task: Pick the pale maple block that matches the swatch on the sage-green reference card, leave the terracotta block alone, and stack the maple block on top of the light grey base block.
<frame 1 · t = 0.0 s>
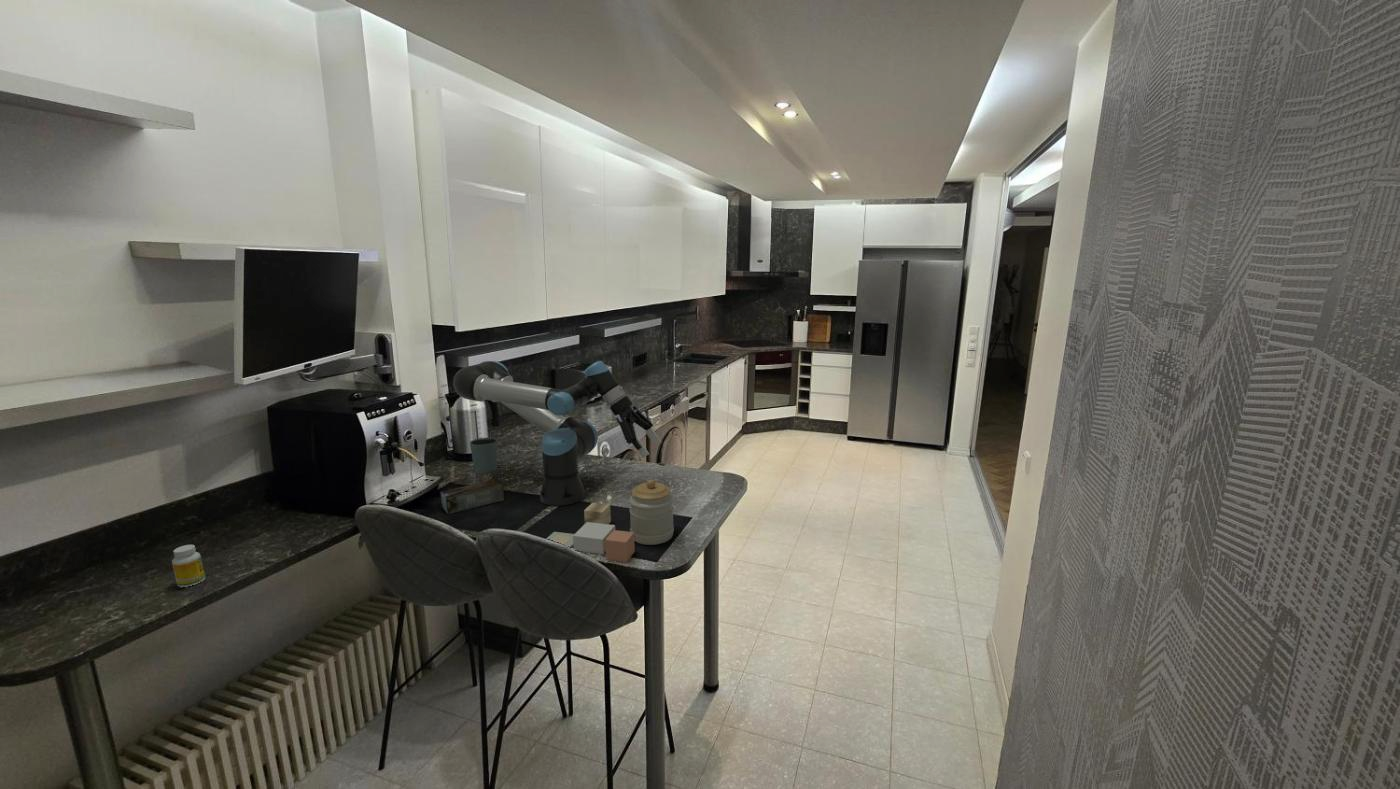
hand: (652, 449, 196), 15 cm above the countertop, tool tilted 35°, fingers open, 13 cm apart
terracotta block: (620, 555, 154), on the countertop
grey base block: (595, 544, 160), on the countertop
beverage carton: (474, 504, 189), on the countertop
reference card: (560, 542, 161), on the countertop
supplement bottle: (192, 583, 141), on the countertop
maple block: (598, 525, 172), on the countertop
jar: (652, 536, 166), on the countertop
teal cup: (486, 470, 221), on the countertop
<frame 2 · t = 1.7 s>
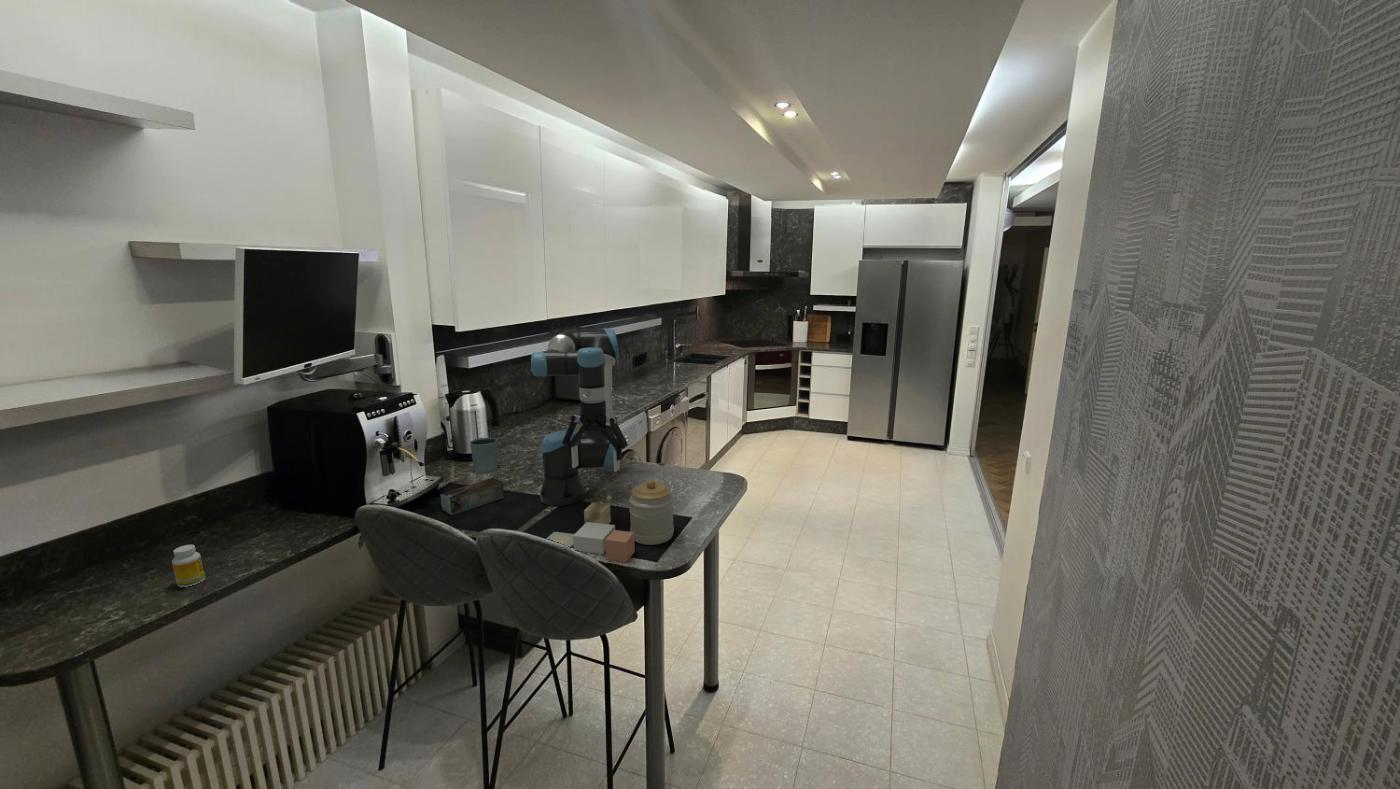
hand: (596, 468, 168), 19 cm above the countertop, tool pointing down, fingers open, 13 cm apart
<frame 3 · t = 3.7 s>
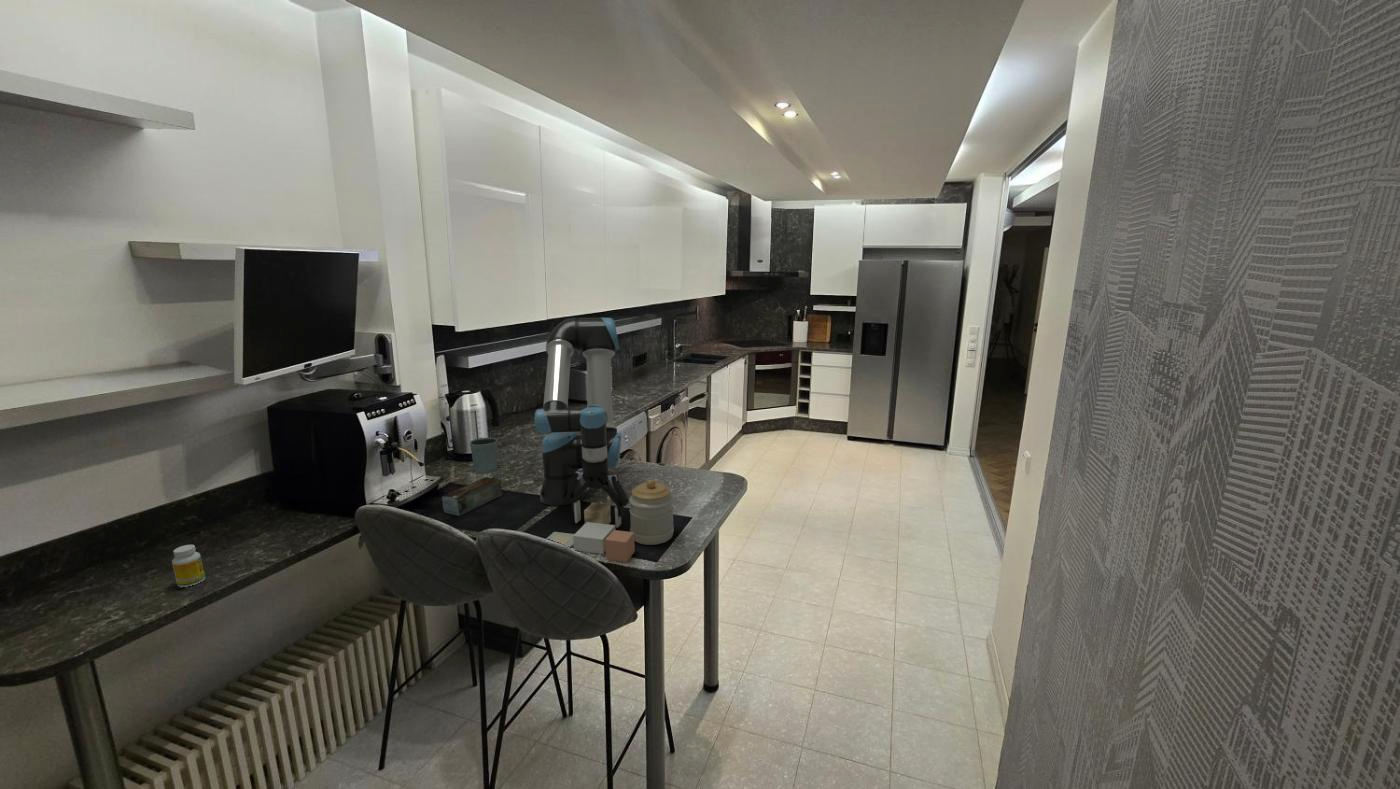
hand: (598, 523, 172), 1 cm above the countertop, tool pointing down, fingers open, 13 cm apart
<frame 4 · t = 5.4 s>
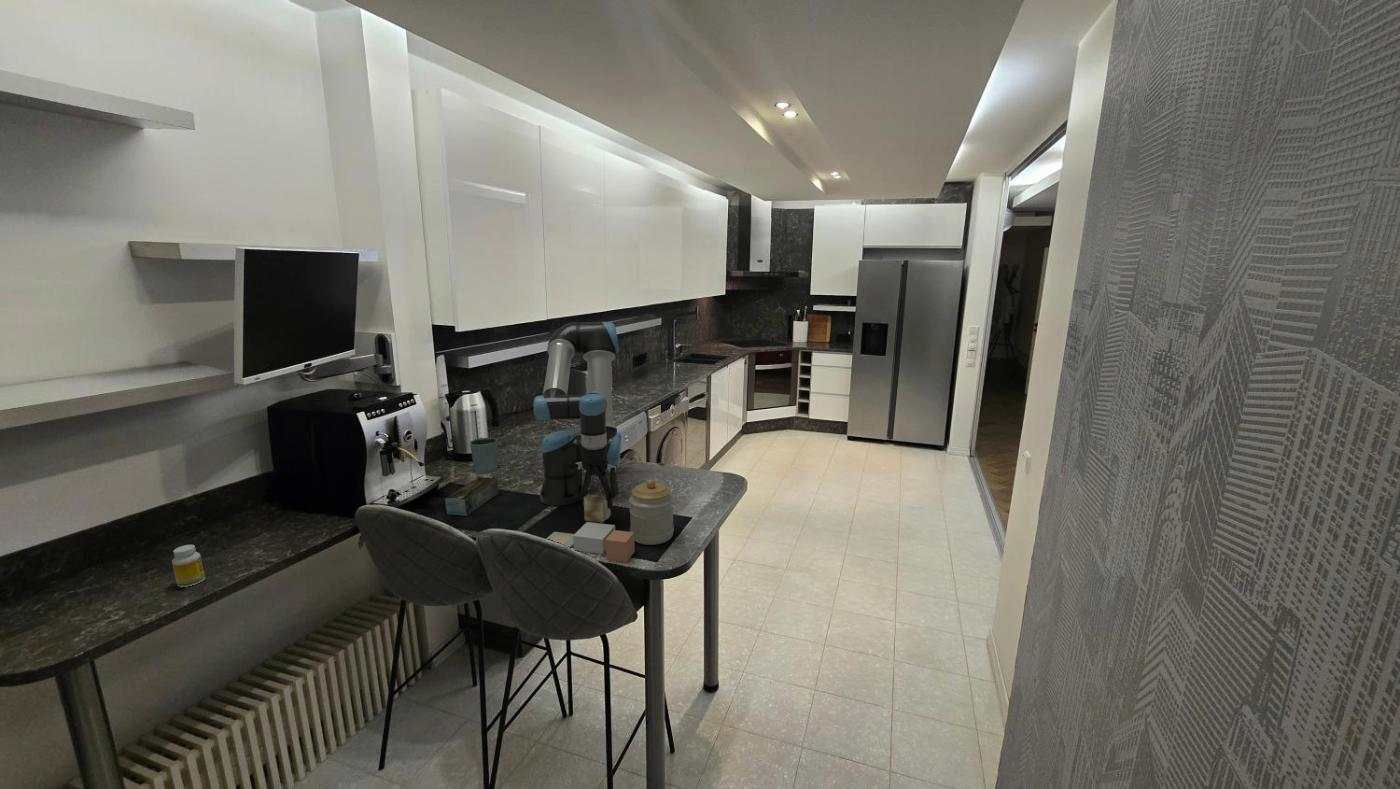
hand: (597, 515, 172), 3 cm above the countertop, tool pointing down, fingers closed on maple block, 6 cm apart
maple block: (597, 517, 172), point 2 cm above the countertop, touching gripper
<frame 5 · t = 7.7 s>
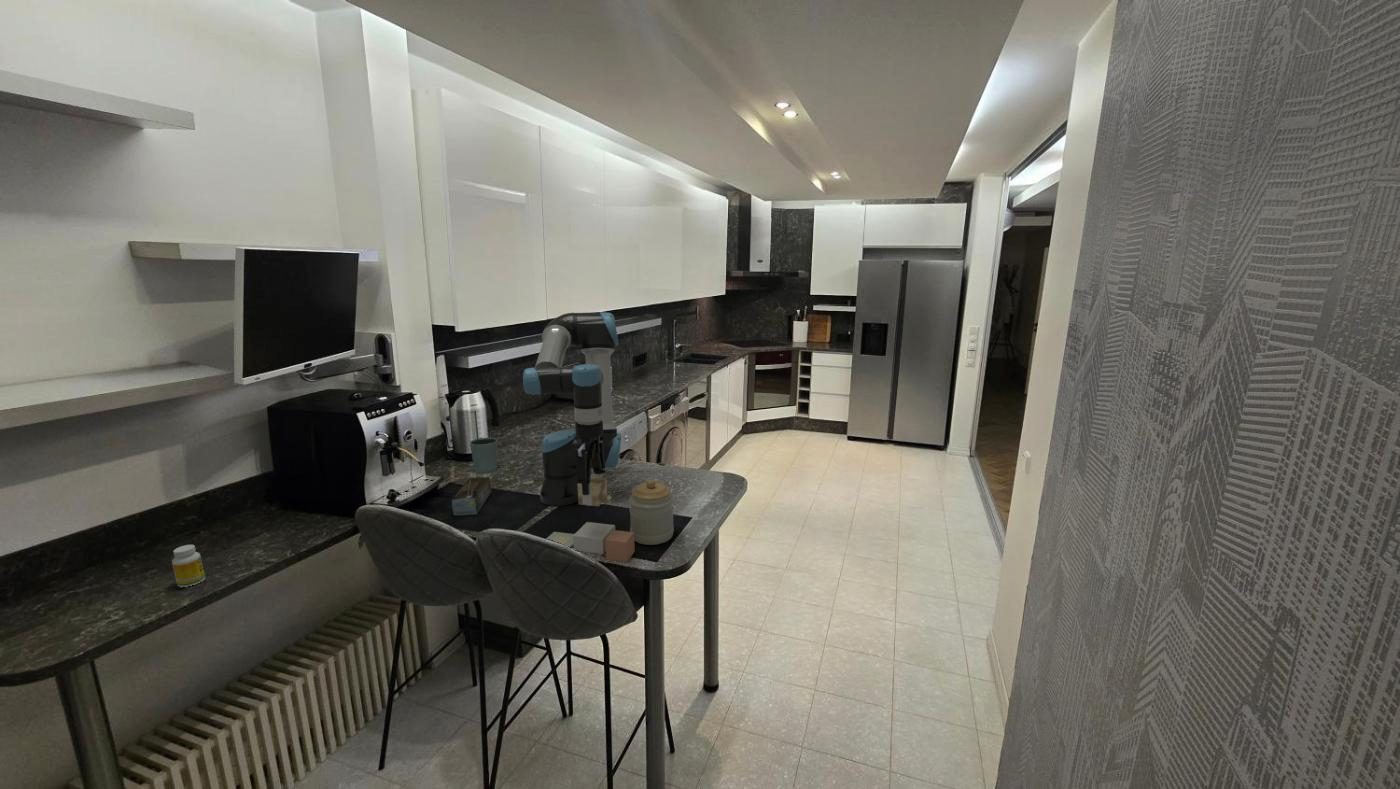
hand: (592, 499, 157), 14 cm above the countertop, tool pointing down, fingers closed on maple block, 6 cm apart
maple block: (593, 501, 157), point 14 cm above the countertop, touching gripper
when the fingers open (5 cm above the countertop, at t = 9.9 s): maple block stays where it is, resting on grey base block.
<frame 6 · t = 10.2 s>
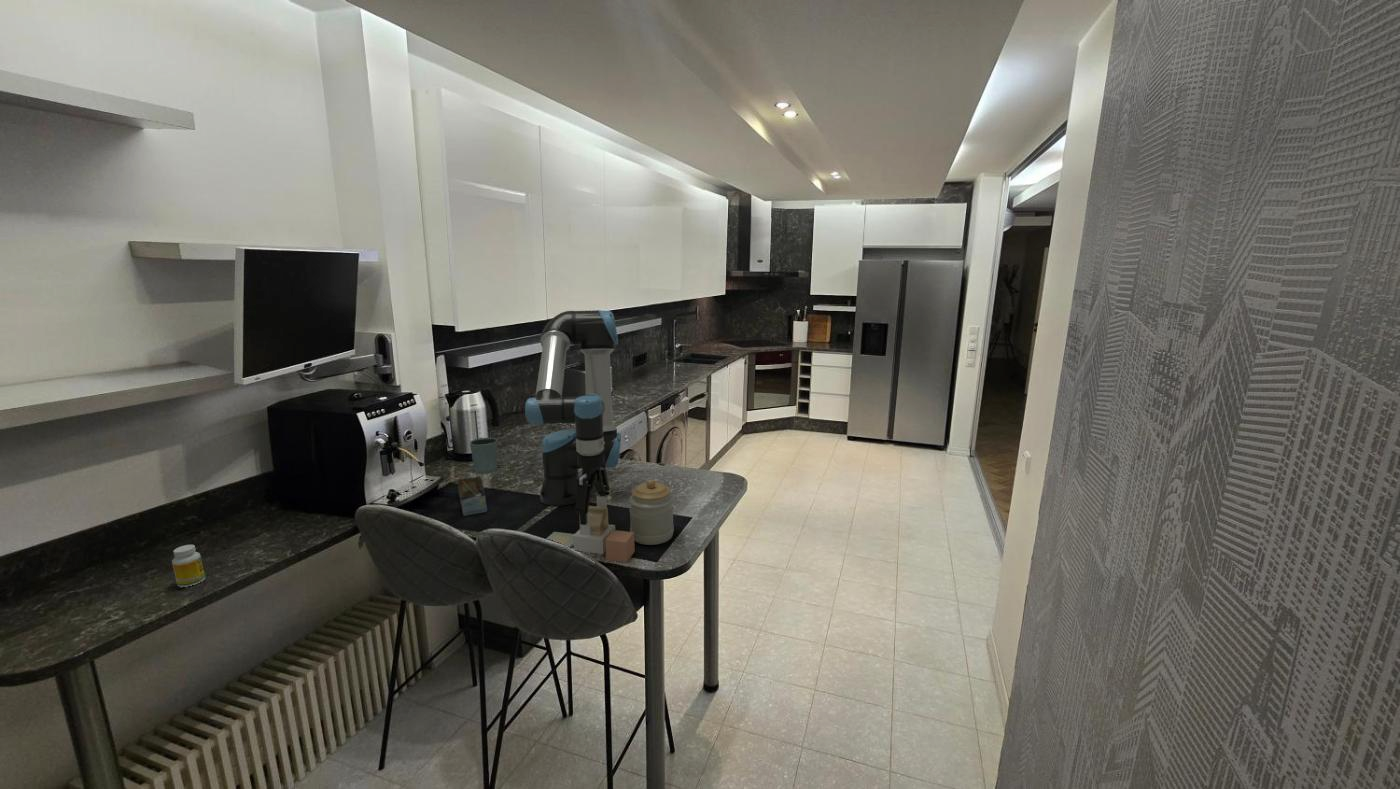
hand: (594, 525, 159), 6 cm above the countertop, tool pointing down, fingers open, 10 cm apart
maple block: (594, 530, 159), point 4 cm above the countertop, touching grey base block
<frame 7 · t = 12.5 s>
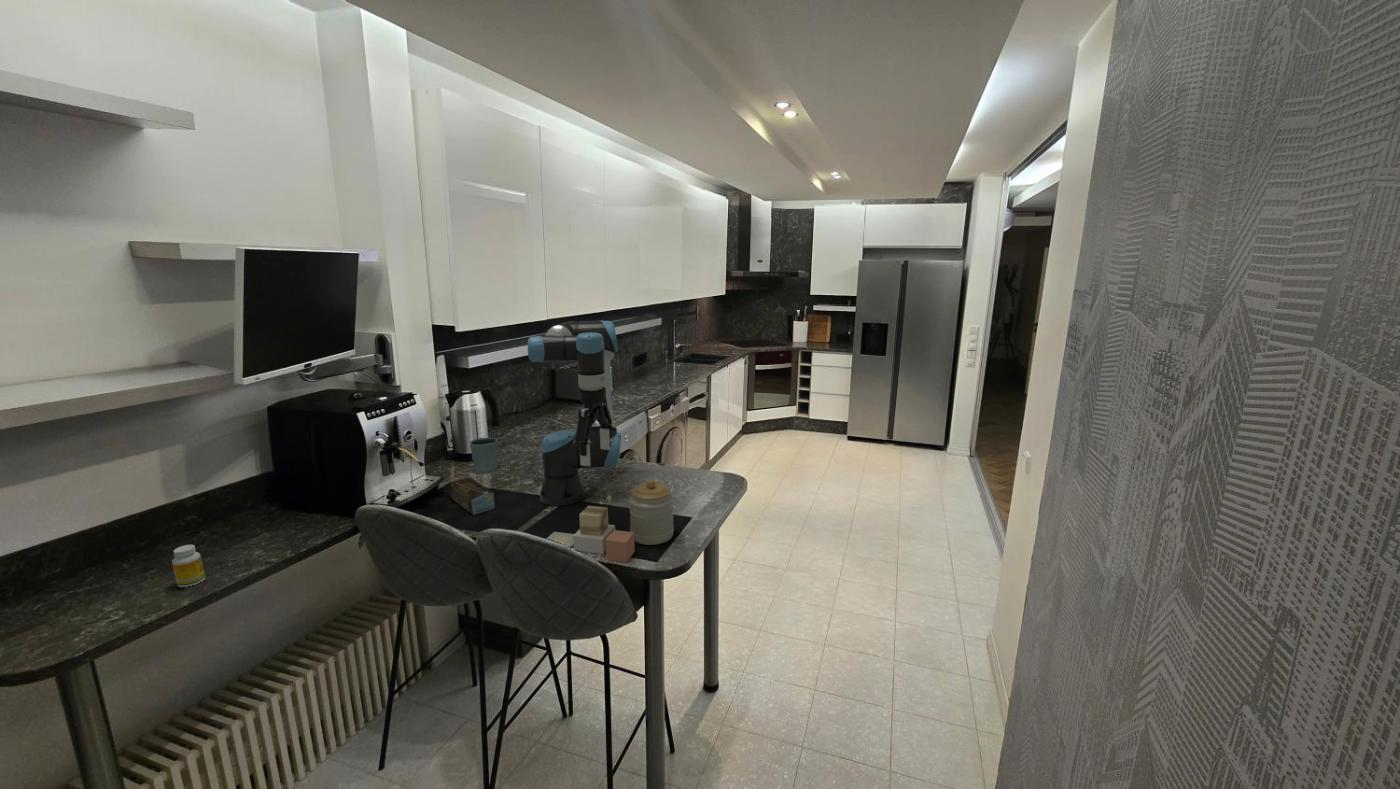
hand: (595, 457, 164), 24 cm above the countertop, tool pointing down, fingers open, 13 cm apart
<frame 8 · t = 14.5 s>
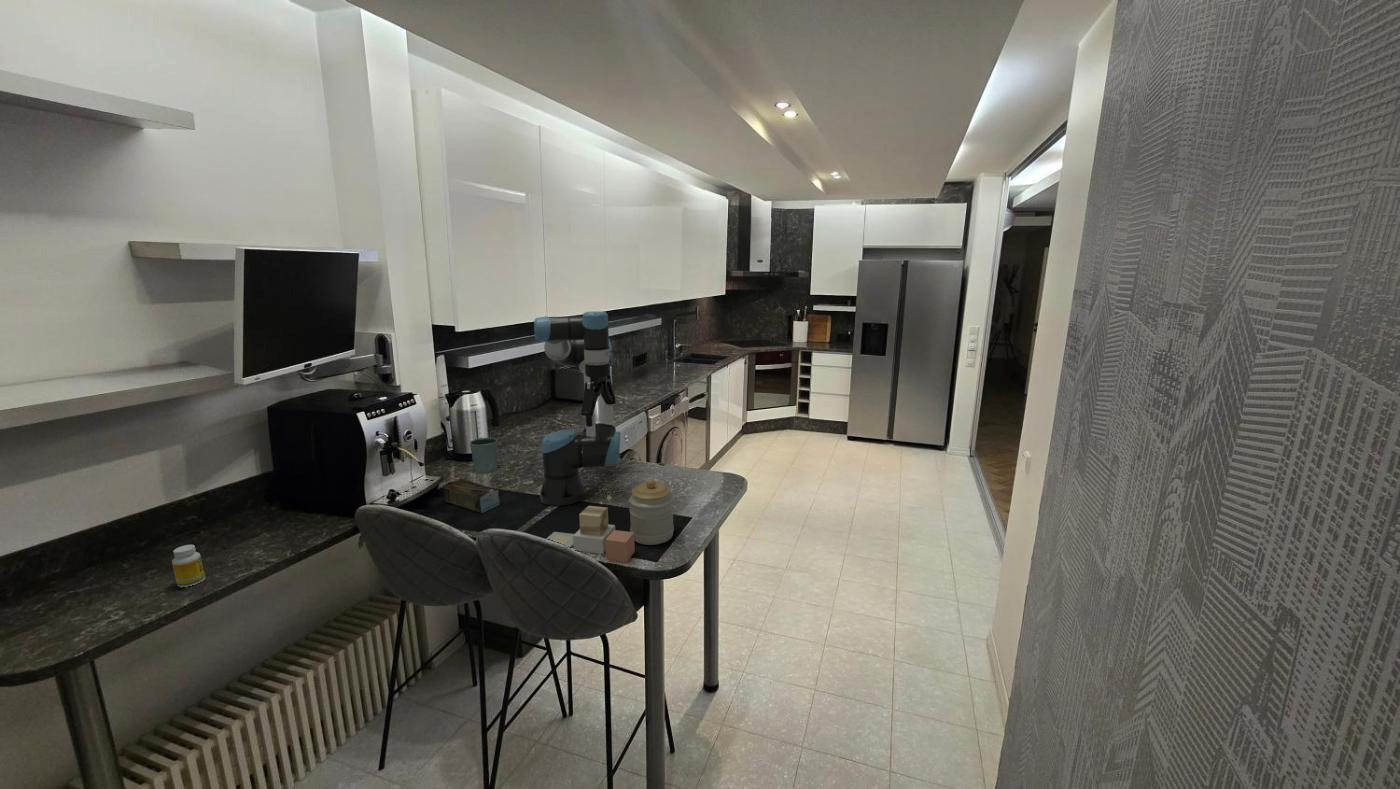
hand: (600, 430, 173), 29 cm above the countertop, tool pointing down, fingers open, 13 cm apart
at the end: maple block 0.0 cm off-centre on the grey base block, point 4.5 cm above the grey base block's base; maple block tilted 0°; terracotta block moved 0.1 cm from its start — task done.
